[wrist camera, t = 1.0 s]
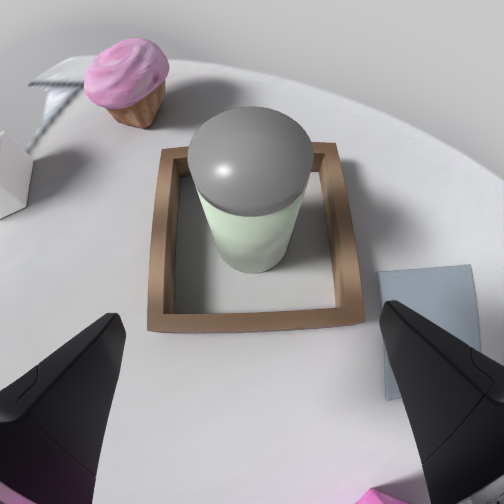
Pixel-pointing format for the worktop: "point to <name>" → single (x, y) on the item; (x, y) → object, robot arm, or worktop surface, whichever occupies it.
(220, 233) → the plastic jar
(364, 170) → the worktop surface
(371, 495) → the gum box
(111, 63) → the cupcake
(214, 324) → the walnut frame
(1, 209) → the medicine bottle
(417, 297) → the rubber mat
